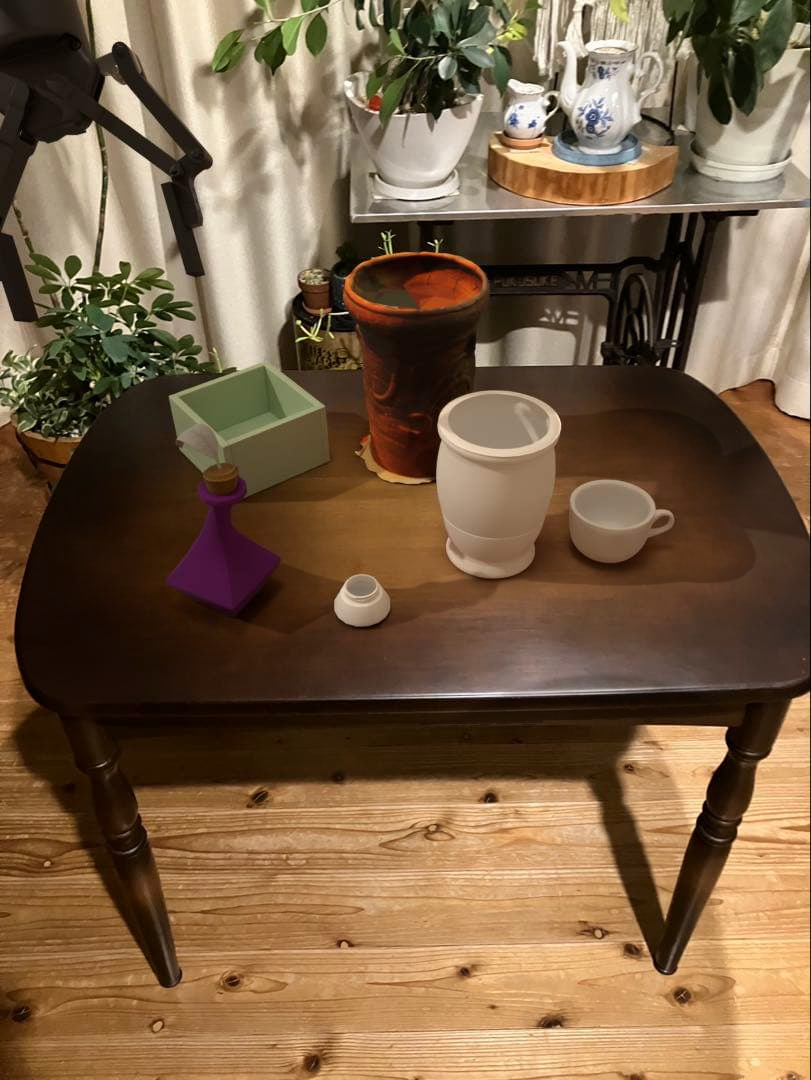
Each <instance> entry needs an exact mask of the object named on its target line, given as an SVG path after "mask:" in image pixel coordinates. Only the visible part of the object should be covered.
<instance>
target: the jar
mask: <svg viewBox="0 0 811 1080" xmlns="http://www.w3.org/2000/svg"><path fill="white" fill-rule="evenodd" d="M561 430H562V422H561V419H560V416H559V415H558V413H557V412H556V410H555V409H553V407H551V406H550V405H548V404H547V403H546V402H544V401H543V400H540V399H538V398H536V397H534V396H531V395H528V394H524V393H522V392H521V393H520V392H516V391H510V390H496V389H495V390H482V391H474V392H473V393H470V394H467V395H464V396H461V397H459V398H456V399H455V400H453V401H451V402H450V403H448V404H447V405H446V406H445V407H444V408H443V409H442V411H441V413H440V415H439V419H438V433H439V436H440V438H441V439H442V441H441V444H440V448H439V453H438V459H437V470H436V479H435V480H436V491H437V499H438V501H439V506H440V513H441V521H442V523H443V527H444V529H445V532H446V534H447V536H448V537H447V540H446V542H445V543H446V544H445V545H446V546H445V549H446V554H447V556H448V558H449V560H450V561H451V563H452V564H453V565H454V566H455V567H457V569H459V570H461V571H462V572H464V573H466V574H469V575H470V576H474V577H477V578H483V579H504V578H509V577H512V576H515V575H517V574H520V573H522V572H523V571H525V570H526V569H527V568H528V567H529V566H530V565H531V564H532V563H533V560H534V558H535V555H536V546H535V544H534V543H535V542H536V541H537V538H538V537H539V535H540V533H541V530H543V529H542V528H543V526H544V523H545V519H546V516H547V512H548V510H549V507H550V504H551V501H552V497H553V494H554V488H555V483H556V482H555V481H556V452H555V446H556V445H557V443H558V442H559V440H560V436H561Z"/></svg>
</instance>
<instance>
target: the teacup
mask: <svg viewBox="0 0 811 1080" xmlns="http://www.w3.org/2000/svg"><path fill="white" fill-rule="evenodd" d="M568 509H569V510H568V529H569V534H570V538H571V540H572V543H573V545H574V546H575V548H576V549H577V550H578V551H579V552H580V553H581V554H582V555H584V557H587V558H588V559H590V560H592V561H595V562H598V563H604V564H616V563H622V562H625V561H627V560H629V559H631V558H633V557H635V555H637V553H639V551H640V550H641V549H642V548H643V547H644V545H645V544H646V542H647V540H648V539H649V538H652V537H654V536H658V535H661V534H663V533H665V532H667V531H669V530H671V529H672V527H673V526H674V523H675V516H674V513H672V512H671V511H670V510H668V509H661V508H660V509H656V502H655V501H654V499H653V497H652V496H651V495H650V494H649V493H648V492H647V491H645V490H644V489H643V488H641V487H639V486H637V485H635V484H633V483H630V482H627V481H622V480H617V479H596V480H591V481H588V482H586V483H583V484H580V485H579V486H577V487H576V488H575V489H574V490H573V491H572V493H571V494H570V497H569V507H568ZM664 516H666V517H668V518H669V519H668V522H667V523H666V524H664V526H661V527H656V528H652V526H653V525H654V523H655V522H656V521H657V520H659V519H660V518H661V517H664Z"/></svg>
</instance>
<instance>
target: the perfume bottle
mask: <svg viewBox="0 0 811 1080" xmlns="http://www.w3.org/2000/svg"><path fill="white" fill-rule="evenodd" d="M184 443H186V444H188V445H189V446H191V447H193V448H194V449H196V450H198V451H199V452H201V453H202V454H204V455H206V456H209V457H211V458H213V459H215V460H216V462H217V464H215V465H212V466H210V467H209V468H208V469H206V470H205V471H204V472H203V473H202V478H203V480H202V481H201V482H200V483H199V485H198V488H197V492H198V499H199V500H200V501H202V502H203V503H204V505H207V506H208V511H207V514H206V517H205V521H204V524H203V526H202V528H201V530H200V532H199V534H198V536H197V538H196V539H195V541H194V542H193V544H192V545H191V547H190V548H189V550H188V551H187V553H186V554H185V555H184V557H183V558H182V559H181V560H180V561H179V563H178V564H177V566H176V567H174V569H173V570H172V572H171V573H170V574H169V575H168V577H167V578H166V580H165V584H166V585H168V586H169V587H170V588H173V589H174V590H176V591H177V592H179V593H180V594H182V595H184V596H186V597H187V598H189V599H191V600H192V601H194V602H195V603H197V604H199V605H202V606H204V607H206V608H209V609H211V610H214V611H216V612H219V613H221V614H224V615H226V616H229V617H231V618H235V617H237V615H238V614H239V613H240V612H241V611H242V610H243V609H244V608H245V607H246V606H247V605H248V604H249V603H250V602H251V600H252V599H254V597H255V596H256V595H258V593H259V592H260V591H261V589H262V588H263V587H264V585H265V584H266V582H267V581H268V579H269V578H270V577H271V575H272V574H273V573H274V571H275V570H276V568H278V566H279V565H280V563H281V562H282V558H281V557H280V556H279V555H277V554H276V553H274V552H272V551H270V550H269V549H267V548H266V547H264V546H262V545H260V544H258V543H257V542H255V541H253V540H252V539H251V538H249V537H247V536H246V535H244V534H243V533H241V532H240V531H238V530H237V529H236V527H234V525H233V522H232V509H233V506H234V505H235V504H238V503H240V502H242V501H243V499H245V498H246V497H245V495H246V494H247V485H246V482H245V480H243V479H242V478H241V477H240V476H239V468H237V467H236V466H234V465H232V464H229V463H220V462H219V459H218V441H217V438H216V436H215V434H214V432H213V431H212V430H211V429H210V428H209V427H208V426H206V425H205V424H203V423H202V424H196V425H194V426H192V427H190V428H189V429H187V430H185V431H184V432H182V433H181V434H180V436H179V437H178V438H177V437H176V439H175V445H176V446H177V447H178V448H179V447H180V448H182V447H183V444H184ZM244 497H245V498H244Z"/></svg>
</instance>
